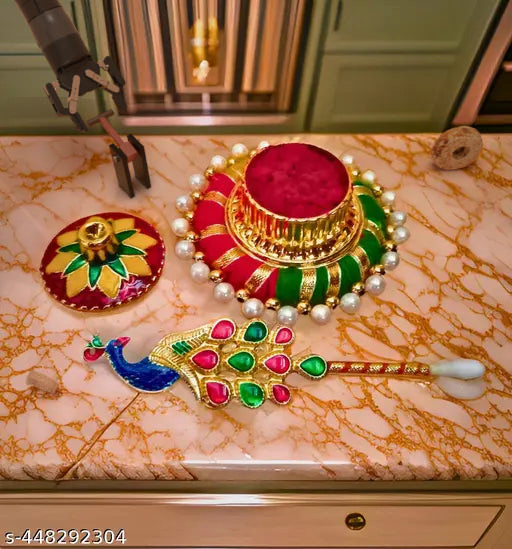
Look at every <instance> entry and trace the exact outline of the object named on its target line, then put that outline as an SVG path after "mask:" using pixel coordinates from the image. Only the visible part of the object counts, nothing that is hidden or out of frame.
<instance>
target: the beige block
mask: <svg viewBox="0 0 512 549" xmlns="http://www.w3.org/2000/svg"><path fill="white" fill-rule="evenodd" d="M30 385H31V386H34V387H35V388H37V389H40V390H41V391H44V392H47V393H50V394H55V393H56V391H57V390H58V387H59V385H60V384H59V383H58V382H57V381H56V380H55V379H53V378H52V377H50V376H48V375H46V374H45V373H42V372H40V371H36V370H35V369H30V371H29V373H28V374H27V376H26V379H25V386H30Z"/></svg>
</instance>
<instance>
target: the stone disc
mask: <svg viewBox="0 0 512 549" xmlns="http://www.w3.org/2000/svg"><path fill="white" fill-rule="evenodd" d="M483 146H484V144H483V137H482V135H481V133H480V131H479V130H478V129H476V128H474V127H472V126H468V125H461V126H460V125H459V126H456V127H452V128H450V129H448V130H445V131H444V132H442V134H440V135H439V137H438V138H437V139H436V140H435V141H434V143H433V146H432V148H431V150H430V156H431V159H432V161H433V162H434V164H435V165H436V166H437V167H438V168H440V169H442V170H446V171H449V170H450V171H451V170H456V169H462V168H465V167H467V166H469V165H471V164H472V163H474V161H476V160H477V159H478V158H479V156H480V154H481V152H482V149H483Z"/></svg>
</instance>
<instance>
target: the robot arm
mask: <svg viewBox="0 0 512 549" xmlns="http://www.w3.org/2000/svg"><path fill="white" fill-rule="evenodd" d="M13 2H14V3H15V5H16V7H17V8H18V10H19V11H20V13H21V15H22V17H23V19H24V20H25V22H26V24H27V26H28V27H29V30H30V32H31V34H32V36H33V38H34V40H35V42H36V45H37V47H38V49H40V51H41V53H42V54H43V56H44V58H45V59H46V61H47V64H48V65H49V67H50V69H51V70H52V72H53V74H54V75H55V77H56V81H53V82H46V84H45V85H44V86H43V91H44V93H45V94H46V97H47V98H48V100H49V102H50V104H51V106H52V108H53V110H54V113H55V114H56V116H57V117H60V118H61V117H68V118H69V119H70V120H71V123H73V125H74V127H75V129H76V130H77V131H78V132H82V134H86V133H88V132H89V129H88V128H89V127H88V125H86V123H85V121H84V120H83V118H82V116H81V115H80V112H78V111H77V105H78V100H79V98H80V97H83V96H84V95H86V94H87V93H91V92H93V91H95V90H97V89H98V90H101V91H104V92H106V93H108V94H110V95H111V99H112V101H113V103H114V105H115V106H116V108H117V110H118V112H119V113H120V114H121V115H123V114H126V113H127V112H128V111H127V109H128V104H127V103H126V101H125V99H124V97H123V95H122V94H121V89H123V87H124V86H125V85H126V80H125V78H124V77H123V75H122V73H121V72H120V70H119V68H118V67H117V65H116V64H115V61H114V60H113V59H112V57H111V56H110V55H106V56H104V58H103V59H100V60H99V61H96V60H94V58H93V56H92V54H91V53H90V51H89V49H88V47H87V46H86V43H85V42H84V39H83V38H82V37H81V34H80V33H79V31H78V29H77V27H76V25H75V23H74V22H73V20H72V19H71V17H70V15H69V14H68V13H67V11H66V10H65V8H64V6H63V4H62V2H61V1H60V0H13ZM101 69H102V70H103V71H105V72H107V74H108V75H109V77H110V78H111V81H112V82H113V83H112V82H110V81H109V80H108V79H107V78H104V77H103V76H101V75H100V74H101V73H100V72H101V71H100V70H101ZM59 88H60V89H62V90H64V91H66V92H67V100H66V102H67V106H66V107H64V105H63V103H62V100H61V99H60V97H59V95H58V94H59V93H60V90H59Z"/></svg>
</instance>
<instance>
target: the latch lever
mask: <svg viewBox="0 0 512 549" xmlns="http://www.w3.org/2000/svg"><path fill="white" fill-rule="evenodd" d="M113 116H115V112H114V110H113V108H110V109H108V110H106V111H104V112H102V113H100V114H98V115H96V116H94V117H92V118H90V119H88V120H86V124H87V127H88V128H91V127H92V126H95V125H97V124H99V123H100V125H101V126H102V128H103V129H104V130H105V131H106V133H107V134H108V135H109V136H110V138H111V139H112V141H114V143H115V145H116V146H117V147H118V148H119V149H120V150H121V151H122V152H123V153H124V154H125V155H126V157H127V162H128V164H129V163H132V161H133V160H135V159H137V151H136V150H135V149H134V147H133V146H132V145H131V144H130V142H129V141H128V140H127V141H126V142H125V141H124V140H123V139H122V137H121V136H120V135H119V133H118V132H117V131H116V130H115V128H114V127H113V126H112V125H111V123H110V122H109V121H108V119H109V118H110V117H113Z"/></svg>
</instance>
